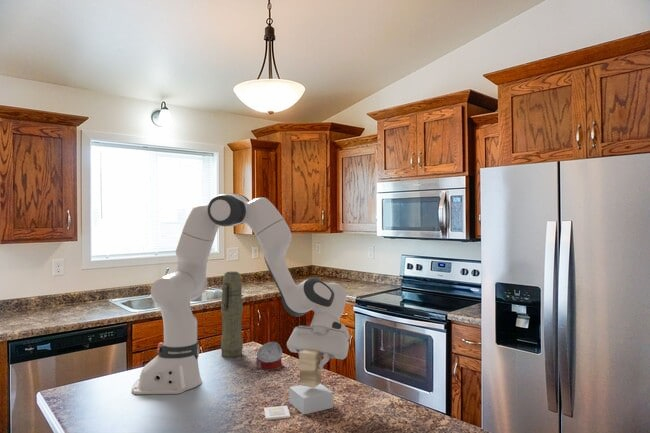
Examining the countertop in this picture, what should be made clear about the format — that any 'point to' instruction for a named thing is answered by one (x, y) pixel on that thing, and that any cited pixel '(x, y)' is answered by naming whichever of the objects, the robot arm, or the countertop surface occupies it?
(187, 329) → the robot arm
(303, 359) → the maple block
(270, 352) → the canned food
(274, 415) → the picture tile
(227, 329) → the thermos
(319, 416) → the countertop surface
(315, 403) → the grey-blue block
